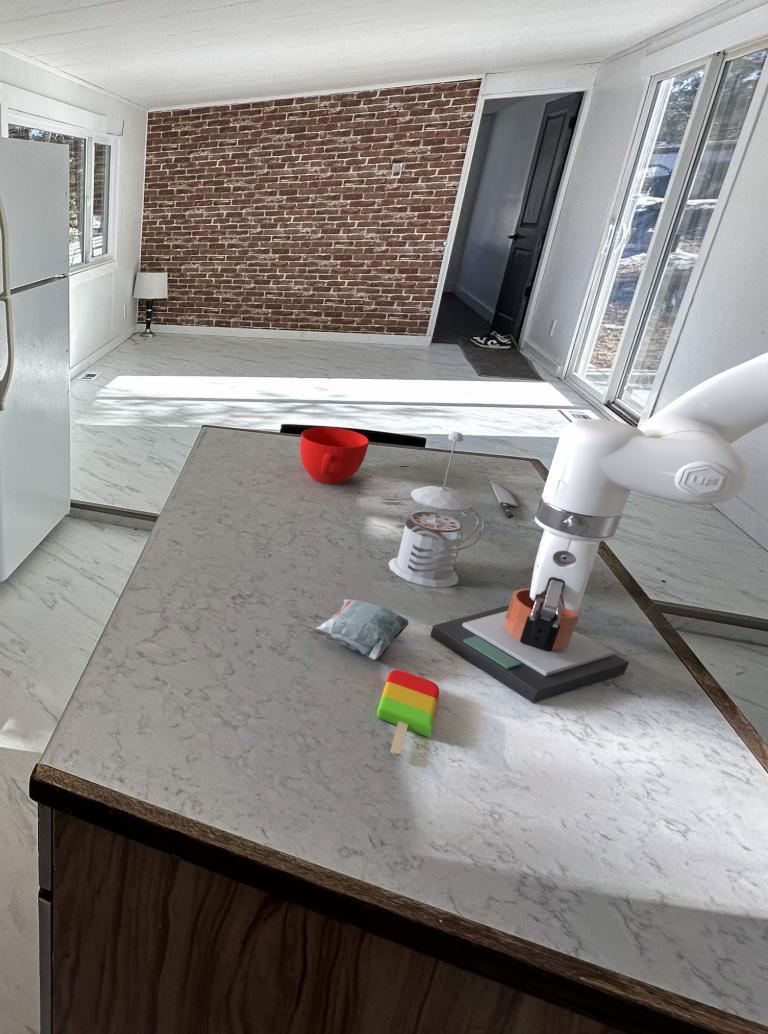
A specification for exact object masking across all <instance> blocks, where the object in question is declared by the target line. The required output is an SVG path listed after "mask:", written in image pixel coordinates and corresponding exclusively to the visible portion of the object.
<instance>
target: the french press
mask: <svg viewBox="0 0 768 1034" xmlns="http://www.w3.org/2000/svg"><path fill="white" fill-rule="evenodd" d="M464 439H465V437H464V435H463V434H462V433H461V432H459V431H454V432H452V433H449V435H448V438H447V440H449V441H452V442H453V446H452V450H451V454H450V457H449V461H448V466H447V470H446V474H445V477H444V478H445V479H444V482H443V486H436V485H427V486H423V487H419V488H414V489H413V490H412V491H411V492H410V495H411V498H412V499H413V501H414V502H416V503H417V504H419V505H421V506H424V507H426V508H428V509H433V510H436V511H431V510H428V509H427V510H416V511H413V512H410V513H409V515H408V517H409V519H407V521H405V525H404V528H403V533H402V537H401V541H400V546H399V550H398V554H397V556H396V557H394V558H391V559H390V561H389V562H388V566H389V569H390V571H392V572H393V573H394V574H395V575H396V576H398V577H399V578H401V579H404V580H406V581H407V582H411V583H413V584H417V585H420V586H424V587H431V588H449V587H452V586H455V585H457V583H458V581H459V577H458V575H457V573H456V572H455V571H454V568H455V564H456V561H457V558H458V554H459V552H460V551H461V550H465V549H467V548H470V547H471V546H473V545H475V544H476V543H477V542H478V541H479V540H480V539H481V537H482V535H483V533H484V529H485V520H484V517H483V516H482V515H481V514H480V513H479V512H477V510H475V508H474V507H472V506H473V502H472V500H471V499H470V498H469V497H468V496H466V495H465V494H464V493H462V492H460V491H457V490H455V489H452V488H450V487H447V486H446V483H447V479H448V476H449V471H450V467H451V464H452V461H453V460H452V459H453V455H454V452H455V447H456V443H457V442H463V441H464ZM439 511H442V512H439ZM464 511H466V513H464ZM443 512H450V513H451V512H452V513H453V512H461V515H463V516H464V517H467V516H468V515H469V512H473V513H474V514H475V517H476V518H475V519H476V523H475V527H474V529H473V531H472V532H471V533H470V535H469V536H468V537H467V538H465V539H463V540H462V538H463V536H464V535H463V532H462V531H460V530H461V529H462V527H463V524H462V522H461V521H460V520H459V519H457V518H455V517H454V516H452V515H449V514H447V513H443ZM479 518H480V520H479ZM480 521H481V529H480V532H479V535H478V537H477V538H476V539H475V540H474V541H473V542H472V543H470V544H468V545H465V546H463V547H461V544H462V543H465V542H466V541H468V540H470V539H471V538H472V537H473V536H474V534H475V533H476V532H477V530H478V526H479V523H480ZM417 526H418V527H417ZM415 527H417V528H415ZM413 528H414V529H413ZM411 529H412V530H411ZM426 531H428V532H430V533H433V534H435V535H437V536H438V537H439V538H438V537H436V536H434V535H431V534H428V533H417V532H426ZM458 531H459V532H458ZM458 533H459V535H458ZM457 535H458V538H457ZM455 546H456V547H455ZM454 547H455V548H454ZM434 550H436V551H434ZM452 554H453V555H452ZM450 561H451V562H450Z"/></svg>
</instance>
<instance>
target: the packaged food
mask: <svg viewBox="0 0 768 1034" xmlns="http://www.w3.org/2000/svg"><path fill="white" fill-rule="evenodd" d="M408 626H409V620H408V619H407V618H405V617H403V615H399V614H398V613H396V612H394V611H392V610H389V609H388V608H386V607H383V606H380V605H377V604H374V603H371V602H368V601H363V600H358V599H347V598H345V599H344V600H343V605H342V607H341V609H340V610H339V611H337V612H336V613H335V614H333V615H332V617H331V618H329V619H328V620H326V621H324V622H322V624H320V625H318V627H316V628H315V627H312V628H311V630H312V632H313V633H315V634H318V635H321V636H323V637H324V638H326V639H327V640H330V641H332V642H334V643H337V644H338V645H341V646H343V647H345V648H347V649H350V650H351V651H355V652H357V653H359V654H360V655H363V656H364V657H366V658H368V659H371V660H372V661H378V660H379V659H380V658H381V657H382V656H383V655H384V653H385V652H386V650H387V649H388V647H389V646H390V644H392V643H393V641H394V640H395V639H396V638H398V637H399V636H400V635H401V633H402V632H403V630H405V629H406V628H407V627H408Z"/></svg>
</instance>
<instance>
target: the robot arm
mask: <svg viewBox="0 0 768 1034" xmlns="http://www.w3.org/2000/svg"><path fill="white" fill-rule="evenodd" d="M766 424H768V352H765V353H762V354H760V355H757V356H756V357H754V358H752V359H750V360H747V361H745V362H743V363H741V364H739V365H736V366H733V367H731V368H729V369H727V370H725V371H722V372H720V373H718V374H716V375H714V376H712V377H710V378H708V379H706V380H705V381H702V382H701V383H700V384H698V385H696V386H695V387H692V388H691V389H689V390H688V391H687V392H685V393H683V394H682V395H681V396H679V397H678V398H676V399H674V400H673V401H672V402H670V403H669V404H668V405H666V406H665V407H663V408H662V409H659V411H657V412H656V413H654V414H653V415H652V416H651V417H649V418H648V419H647V420H646V421H644V422H643V423H642V424H641V425H640V426H639V427H636V426H633V425H630V424H629V423H628V424H627V423H624V422H621V421H615V420H608V419H598V418H597V419H596V418H584V419H577V420H574V421H571V422H569V423H567V424H566V425H565V426H564V427H563V428H562V430H561V433H560V435H559V439H558V442H557V445H556V448H555V452H554V455H553V458H552V462H551V464H550V468H549V471H548V474H547V478H546V481H545V484H544V486H543V487H544V488H543V491H542V495H541V496H540V501H539V504H538V507H537V510H536V512H535V513H536V514H535V516H534V522H535V523H536V525H538V526H539V527H540V528H541V529H544V530H543V532H542V536H541V539H540V543H539V546H538V550H537V553H536V556H535V562H534V565H533V572H532V577H531V583H530V589H531V590H530V597H531V599H532V600H533V601H534V600H535V603H534V606H533V609H532V613H531V616H528V617H527V620H526V623H525V626H524V629H523V632H522V635H521V638H520V642H521V643H522V644H525V645H528V646H532V647H535V648H538V649H541V650H544V651H547V652H551V651H552V649H553V646H554V643H555V640H556V637H557V634H558V631H559V629H560V625H559V622H560V618H561V615H562V611H563V608H564V605H565V608H566V609H568V610H571V612H576V611H578V610H580V607H581V604H582V600H583V597H584V595H585V592H586V588H587V585H588V584H589V583H588V582H589V580H590V577H591V575H592V571H593V569H594V566H595V562H596V559H597V555H598V552H599V548H600V544H601V542H608V541H610V540H613V538H614V537H615V535H616V532H617V531H618V530H617V529H618V527H619V524H620V522H621V519H622V516H623V512H624V510H625V508H626V505H627V502H628V499H629V496H630V494H631V491H632V492H637V493H641V494H645V495H648V496H652V497H656V498H660V499H664V500H668V501H672V502H676V503H681V504H688V505H714V504H719V503H723V502H727V501H729V500H732V499H734V498H735V497H737V496H739V495H740V494H741V493H742V492H743V491H744V490H745V489H746V488H747V486H748V485H749V483H750V479H751V469H750V467H749V464H748V463H747V460H746V459H745V458H744V456H743V455H742V454H741V452H739V451H737V450H736V448H735V447H734V446H732V445H731V444H733V443H734V442H736V441H738V440H739V439H741V438H743V437H744V436H746V435H747V434H749V433H751V432H752V431H754V430H757V429H759V428H760V427H762V426H763V425H766ZM541 593H542V595H545V596H546V598H541ZM561 598H562V599H561ZM559 599H560V600H561V603H559ZM540 604H543V607H542V609H539V605H540ZM538 609H539V610H538ZM556 609H557V610H556ZM555 612H556V613H555ZM536 615H537V616H536Z"/></svg>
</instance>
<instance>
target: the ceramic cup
mask: <svg viewBox="0 0 768 1034" xmlns="http://www.w3.org/2000/svg"><path fill="white" fill-rule="evenodd" d="M368 447H369V439H368V438H367V436H365V435H363V434H362V433H359V432H357V431H354V430H349V429H345V428H339V427H327V426H325V427H324V426H323V427H311V428H308V429H305V430H303V431H302V432H301V436H300V449H299V450H300V452H299V453H300V459H301V463H302V465H303V468H304V469H305V471H306V472H307V473H308V475H309V476H310V478H311V479H312V480H313V481H315V482H318V483H321V484H326V485H341V484H343V483H344V482H345V481H347V480H348V479H350V478H352V477H353V476H354V475H355V474H356V473H357V472H358V470H359V469H360V467H361V466H362V464H363V462H364V461H365V458H366V454H367V451H368V449H369V448H368Z"/></svg>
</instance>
